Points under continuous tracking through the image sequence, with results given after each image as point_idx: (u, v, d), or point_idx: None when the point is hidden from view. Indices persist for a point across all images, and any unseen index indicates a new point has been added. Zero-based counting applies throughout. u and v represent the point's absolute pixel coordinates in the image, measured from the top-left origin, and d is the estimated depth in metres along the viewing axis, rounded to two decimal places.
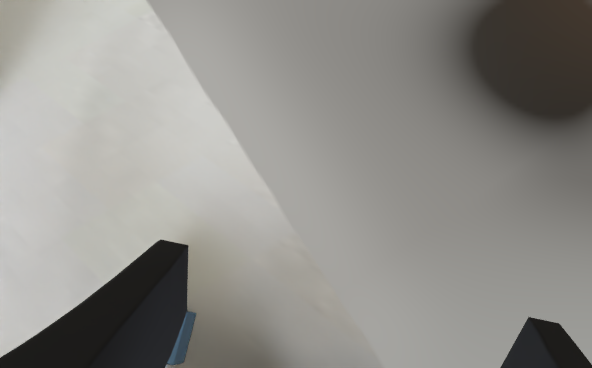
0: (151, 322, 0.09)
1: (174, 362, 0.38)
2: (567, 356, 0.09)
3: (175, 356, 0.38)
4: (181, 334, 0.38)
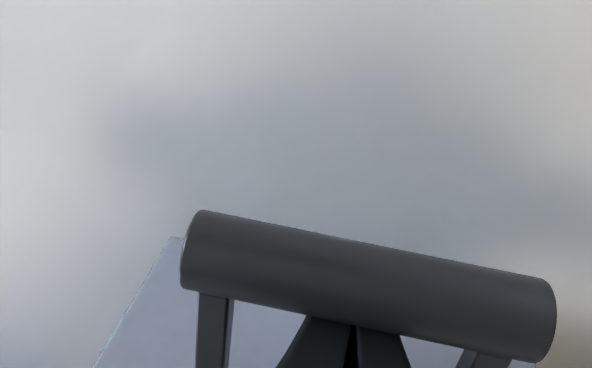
0: None
1: None
2: None
3: None
4: None
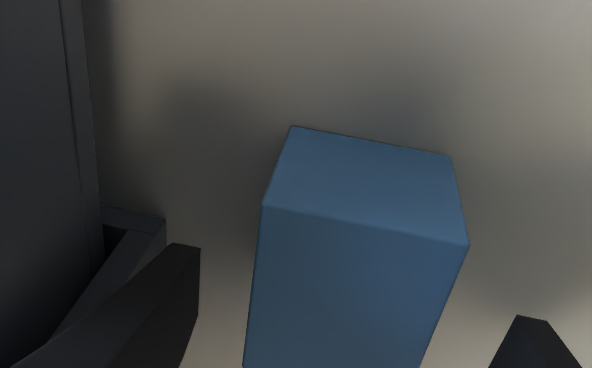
0: (165, 325, 0.09)
1: None
2: (553, 353, 0.09)
3: None
4: None
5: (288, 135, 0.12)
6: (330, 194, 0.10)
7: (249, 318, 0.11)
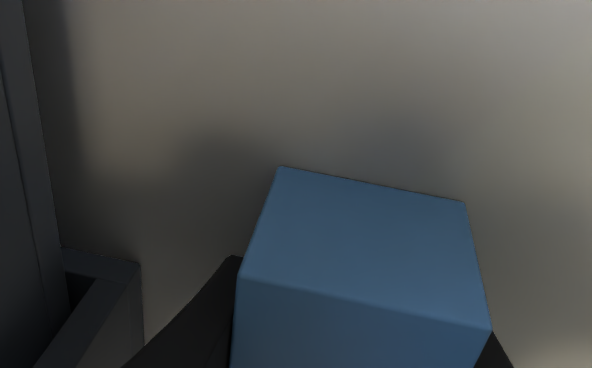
0: None
1: None
2: None
3: None
4: None
5: (275, 178, 0.10)
6: (323, 260, 0.08)
7: None
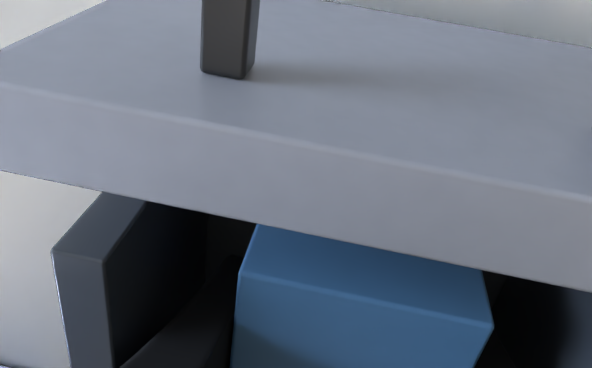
0: (231, 340, 0.09)
1: None
2: None
3: None
4: None
5: None
6: (324, 257, 0.08)
7: None
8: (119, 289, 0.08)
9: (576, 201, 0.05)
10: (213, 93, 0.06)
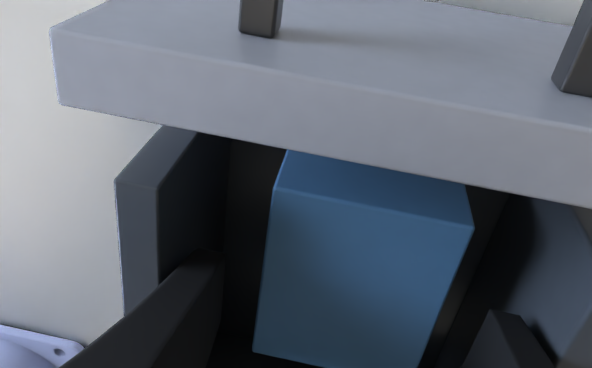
0: (194, 332, 0.09)
1: None
2: (523, 346, 0.09)
3: (276, 355, 0.13)
4: None
5: None
6: (340, 179, 0.10)
7: (259, 301, 0.12)
8: (166, 216, 0.09)
9: (530, 122, 0.07)
10: (250, 47, 0.07)
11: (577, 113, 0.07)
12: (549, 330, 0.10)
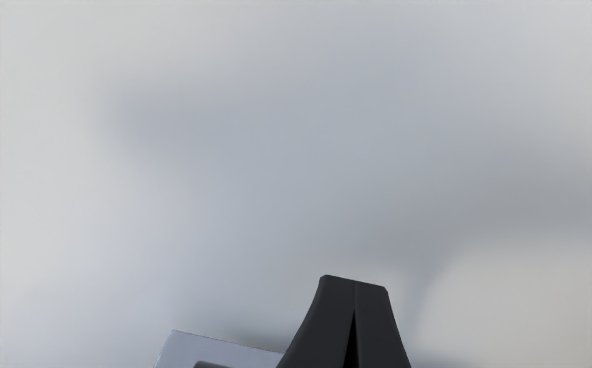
0: None
1: None
2: (371, 314, 0.09)
3: None
4: None
5: None
6: None
7: None
8: None
9: None
10: None
11: None
12: None
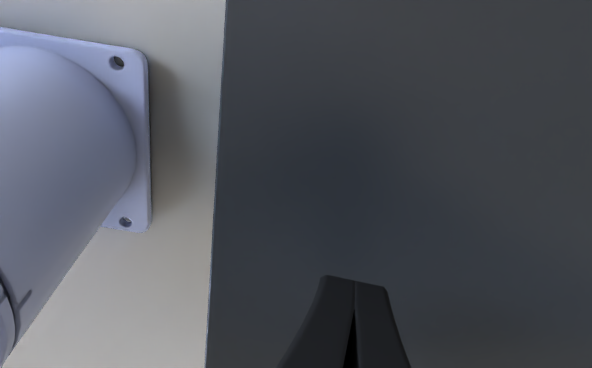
0: None
1: None
2: (371, 314, 0.09)
3: None
4: None
5: None
6: None
7: None
8: None
9: None
10: None
11: None
12: None
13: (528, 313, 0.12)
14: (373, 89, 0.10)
